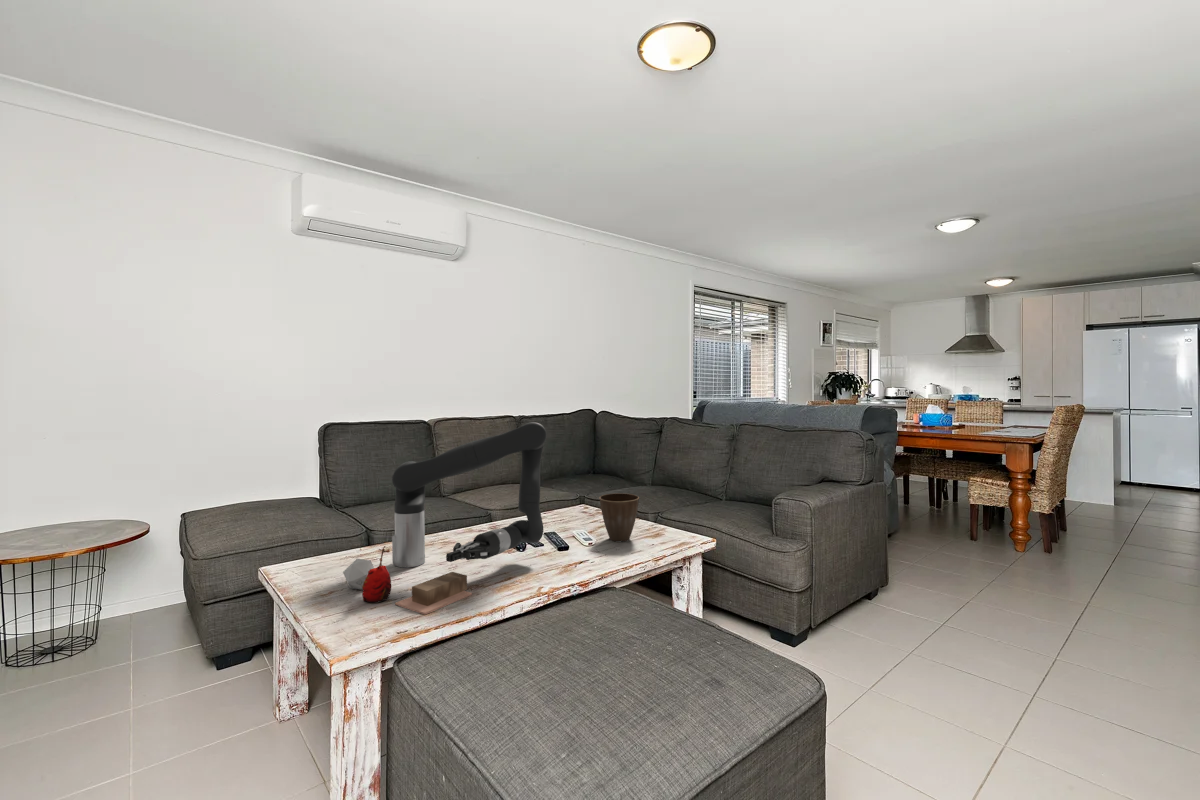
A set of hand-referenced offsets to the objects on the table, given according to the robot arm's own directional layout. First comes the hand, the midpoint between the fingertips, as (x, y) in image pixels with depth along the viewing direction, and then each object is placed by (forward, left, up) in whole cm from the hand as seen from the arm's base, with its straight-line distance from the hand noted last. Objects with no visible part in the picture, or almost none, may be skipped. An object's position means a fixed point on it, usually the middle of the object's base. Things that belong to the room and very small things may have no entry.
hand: (448, 558), depth 154 cm
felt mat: (-2, -5, -10) cm, 11 cm away
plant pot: (+42, +60, -10) cm, 74 cm away
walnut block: (+2, +4, -8) cm, 9 cm away
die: (-27, +1, -10) cm, 29 cm away
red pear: (-17, -7, -10) cm, 21 cm away
